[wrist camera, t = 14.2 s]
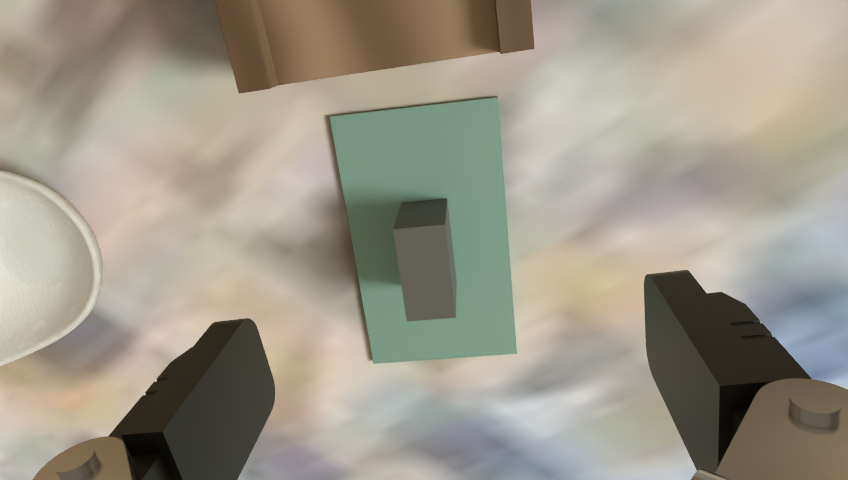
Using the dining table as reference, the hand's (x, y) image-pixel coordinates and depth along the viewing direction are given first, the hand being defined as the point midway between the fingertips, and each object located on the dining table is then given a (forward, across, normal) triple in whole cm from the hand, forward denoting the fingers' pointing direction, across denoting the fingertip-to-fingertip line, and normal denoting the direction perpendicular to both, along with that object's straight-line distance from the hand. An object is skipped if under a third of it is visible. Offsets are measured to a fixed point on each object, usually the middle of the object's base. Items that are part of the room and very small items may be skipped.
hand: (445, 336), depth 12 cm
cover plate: (+26, +4, +8) cm, 28 cm away
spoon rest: (+26, +35, +8) cm, 44 cm away
